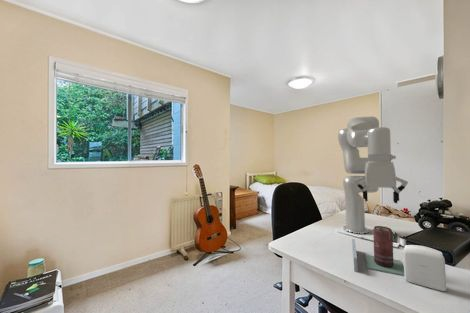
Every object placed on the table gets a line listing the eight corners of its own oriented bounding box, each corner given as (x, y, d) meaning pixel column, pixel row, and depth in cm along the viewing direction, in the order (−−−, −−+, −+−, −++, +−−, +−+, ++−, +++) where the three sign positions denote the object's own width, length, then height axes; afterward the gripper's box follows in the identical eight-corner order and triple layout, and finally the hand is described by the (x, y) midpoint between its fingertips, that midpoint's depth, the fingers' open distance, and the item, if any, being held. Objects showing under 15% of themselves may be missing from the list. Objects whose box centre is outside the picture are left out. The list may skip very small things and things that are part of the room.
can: (386, 269, 76) (384, 231, 77) (370, 261, 83) (369, 226, 83) (398, 267, 78) (397, 229, 78) (382, 259, 84) (381, 224, 84)
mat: (364, 255, 89) (364, 254, 89) (399, 261, 83) (399, 260, 83) (367, 268, 78) (367, 267, 78) (408, 276, 72) (408, 275, 73)
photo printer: (403, 281, 70) (402, 244, 70) (404, 276, 73) (403, 240, 73) (447, 294, 63) (445, 253, 63) (445, 287, 66) (444, 248, 67)
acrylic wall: (352, 250, 94) (352, 239, 94) (354, 250, 94) (354, 239, 94) (354, 271, 77) (354, 257, 77) (357, 271, 76) (357, 258, 76)
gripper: (404, 158, 82) (405, 201, 82) (353, 159, 90) (354, 198, 90) (409, 158, 75) (410, 205, 75) (354, 159, 83) (355, 201, 83)
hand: (380, 201), depth 82 cm, fingers open, 9 cm apart
